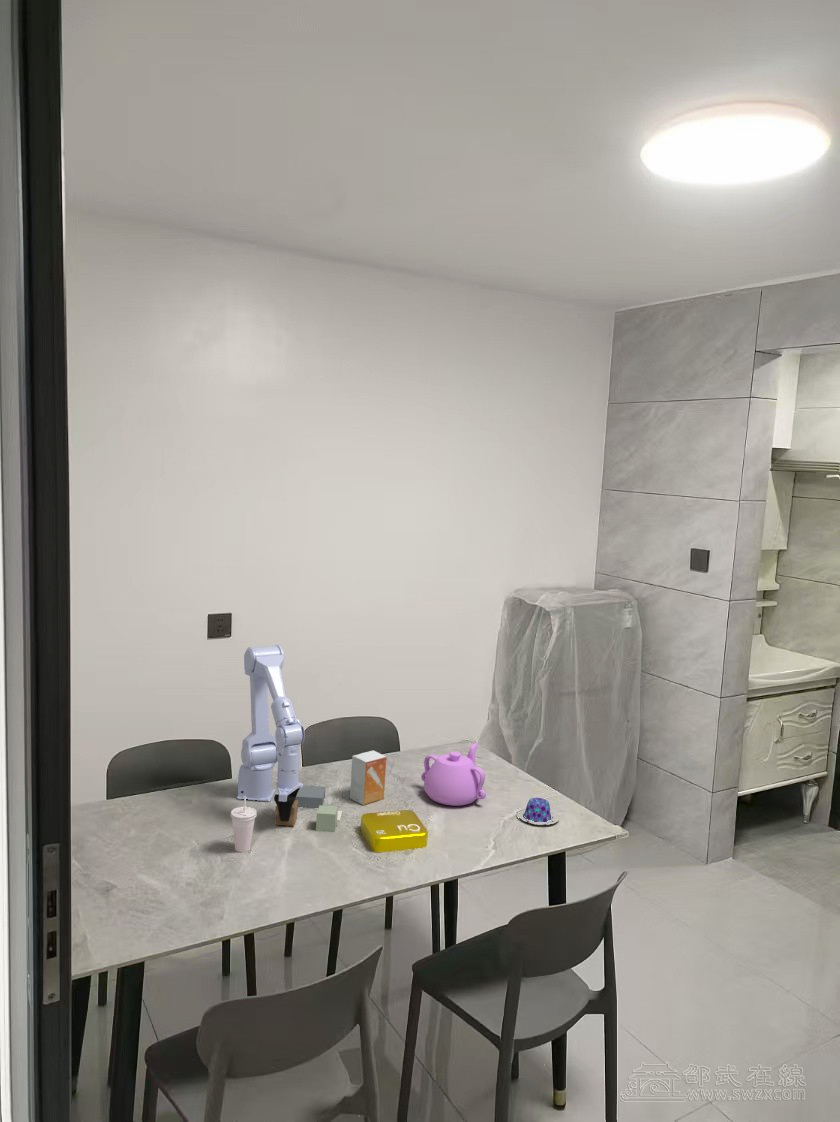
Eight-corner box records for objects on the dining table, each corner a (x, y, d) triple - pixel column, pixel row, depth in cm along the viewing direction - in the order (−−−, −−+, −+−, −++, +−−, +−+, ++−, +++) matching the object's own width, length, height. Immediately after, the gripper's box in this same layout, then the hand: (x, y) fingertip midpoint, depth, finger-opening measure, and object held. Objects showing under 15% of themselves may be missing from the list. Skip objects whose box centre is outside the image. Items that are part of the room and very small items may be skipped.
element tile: (411, 823, 230) (412, 807, 229) (429, 849, 216) (430, 831, 215) (358, 828, 225) (359, 811, 225) (373, 854, 211) (374, 836, 211)
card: (317, 819, 228) (317, 818, 228) (321, 810, 234) (321, 809, 234) (339, 821, 228) (339, 819, 228) (342, 811, 234) (342, 810, 234)
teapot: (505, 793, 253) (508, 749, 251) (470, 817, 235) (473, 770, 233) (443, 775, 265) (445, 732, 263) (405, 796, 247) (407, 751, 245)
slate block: (293, 808, 235) (294, 796, 235) (297, 796, 243) (297, 785, 243) (322, 809, 235) (322, 798, 235) (325, 798, 243) (325, 786, 243)
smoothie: (233, 856, 205) (234, 802, 203) (226, 845, 211) (228, 792, 209) (258, 852, 208) (260, 798, 206) (251, 840, 214) (253, 788, 212)
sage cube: (315, 831, 222) (316, 813, 221) (318, 822, 227) (319, 805, 226) (334, 832, 221) (335, 814, 221) (337, 824, 226) (337, 806, 226)
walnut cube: (275, 824, 223) (275, 806, 222) (278, 816, 228) (279, 798, 227) (293, 825, 223) (294, 808, 222) (297, 817, 228) (298, 800, 227)
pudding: (513, 824, 233) (514, 806, 233) (519, 807, 245) (521, 789, 244) (556, 831, 230) (558, 813, 230) (560, 813, 242) (562, 796, 241)
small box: (363, 806, 239) (365, 762, 237) (349, 798, 243) (351, 755, 241) (384, 798, 244) (387, 756, 242) (370, 791, 249) (372, 749, 247)
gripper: (298, 779, 216) (296, 829, 218) (307, 758, 230) (305, 805, 232) (271, 777, 216) (269, 827, 218) (282, 757, 230) (280, 803, 232)
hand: (286, 816), depth 225 cm, fingers closed on walnut cube, 5 cm apart
